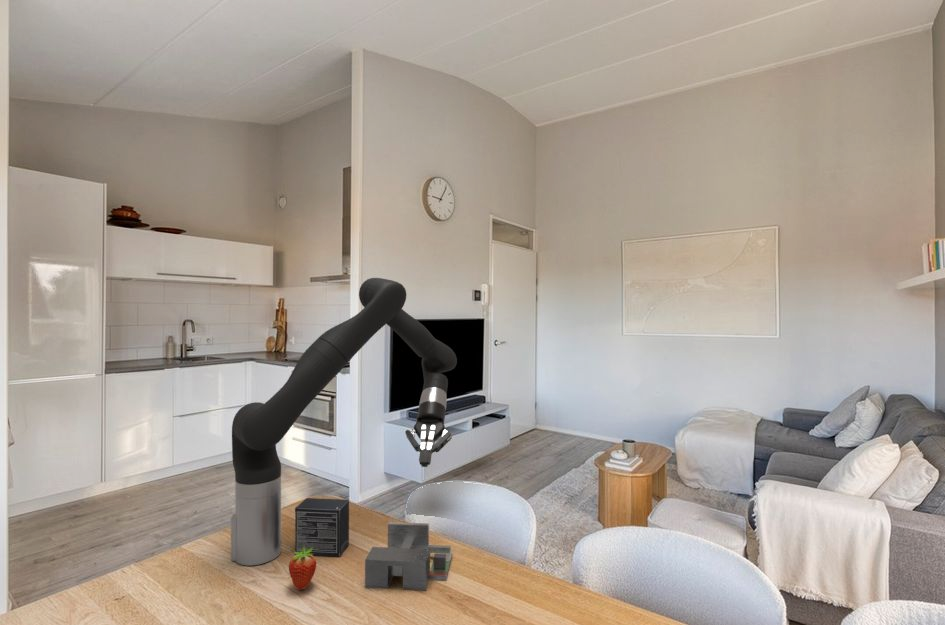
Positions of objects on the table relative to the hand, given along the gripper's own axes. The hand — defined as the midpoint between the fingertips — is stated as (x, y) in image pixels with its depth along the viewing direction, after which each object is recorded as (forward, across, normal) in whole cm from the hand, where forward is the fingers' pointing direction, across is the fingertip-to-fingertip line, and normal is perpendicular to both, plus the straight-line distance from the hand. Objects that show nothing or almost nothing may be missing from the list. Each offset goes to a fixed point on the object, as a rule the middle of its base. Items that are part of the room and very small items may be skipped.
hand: (424, 465), depth 122 cm
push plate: (+26, +2, -6) cm, 27 cm away
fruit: (+32, -18, -12) cm, 39 cm away
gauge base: (+26, +2, -6) cm, 27 cm away
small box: (+22, -20, -1) cm, 30 cm away
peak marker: (+25, +8, -7) cm, 27 cm away
